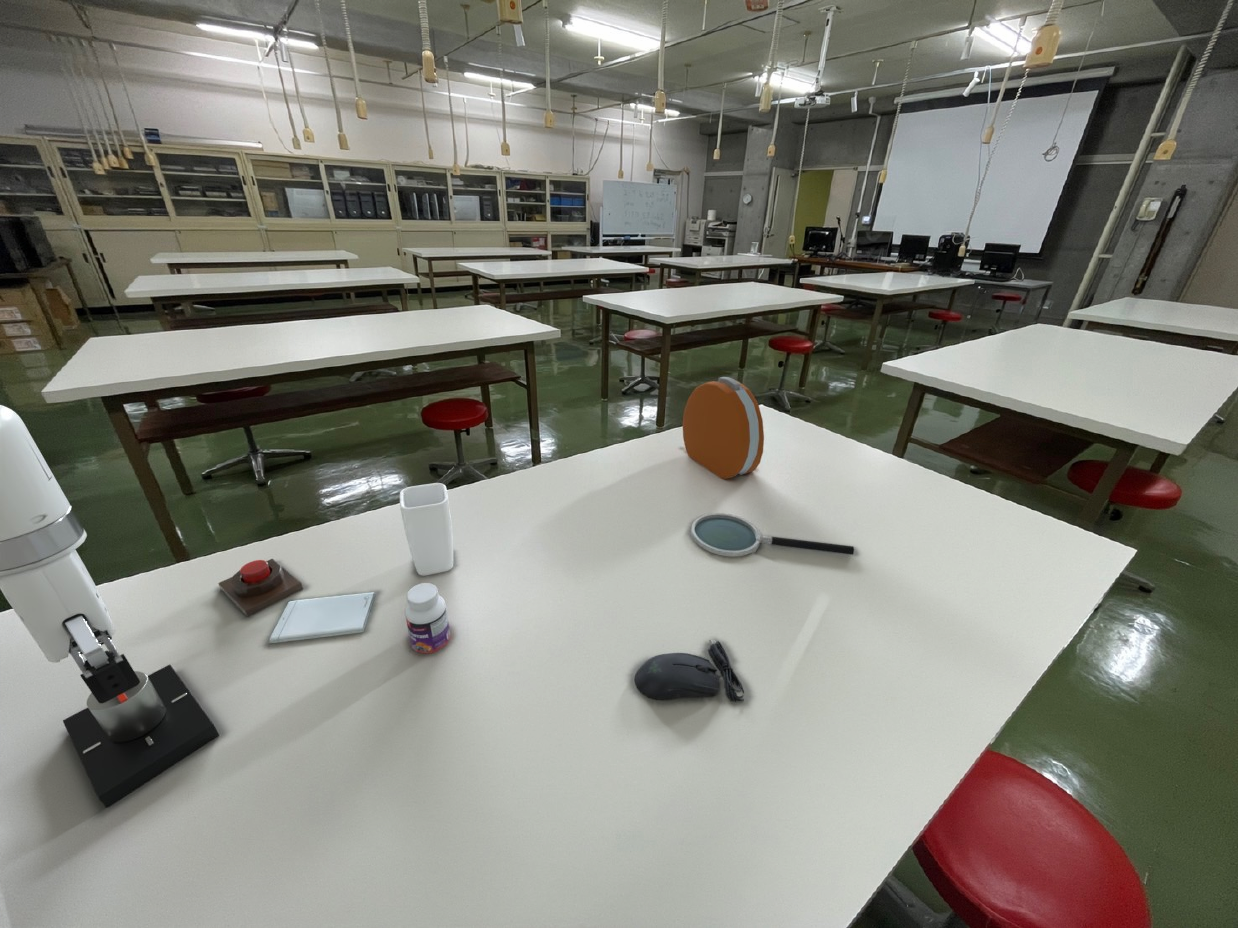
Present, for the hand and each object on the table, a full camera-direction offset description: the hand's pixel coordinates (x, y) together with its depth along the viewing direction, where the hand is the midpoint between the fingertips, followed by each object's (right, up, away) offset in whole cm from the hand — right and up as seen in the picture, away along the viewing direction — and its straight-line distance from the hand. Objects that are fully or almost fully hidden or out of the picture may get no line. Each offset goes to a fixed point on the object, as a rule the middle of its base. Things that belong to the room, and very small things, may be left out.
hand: (106, 668), depth 53 cm
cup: (+22, +4, +35) cm, 42 cm away
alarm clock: (+81, +22, +75) cm, 113 cm away
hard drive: (+10, -2, +23) cm, 25 cm away
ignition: (-3, +1, +27) cm, 28 cm away
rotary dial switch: (-1, -11, +6) cm, 12 cm away
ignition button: (-3, +4, +26) cm, 26 cm away
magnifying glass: (+85, +6, +45) cm, 96 cm away
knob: (-1, -8, +4) cm, 9 cm away
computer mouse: (+64, -8, +16) cm, 67 cm away
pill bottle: (+27, -4, +20) cm, 34 cm away
